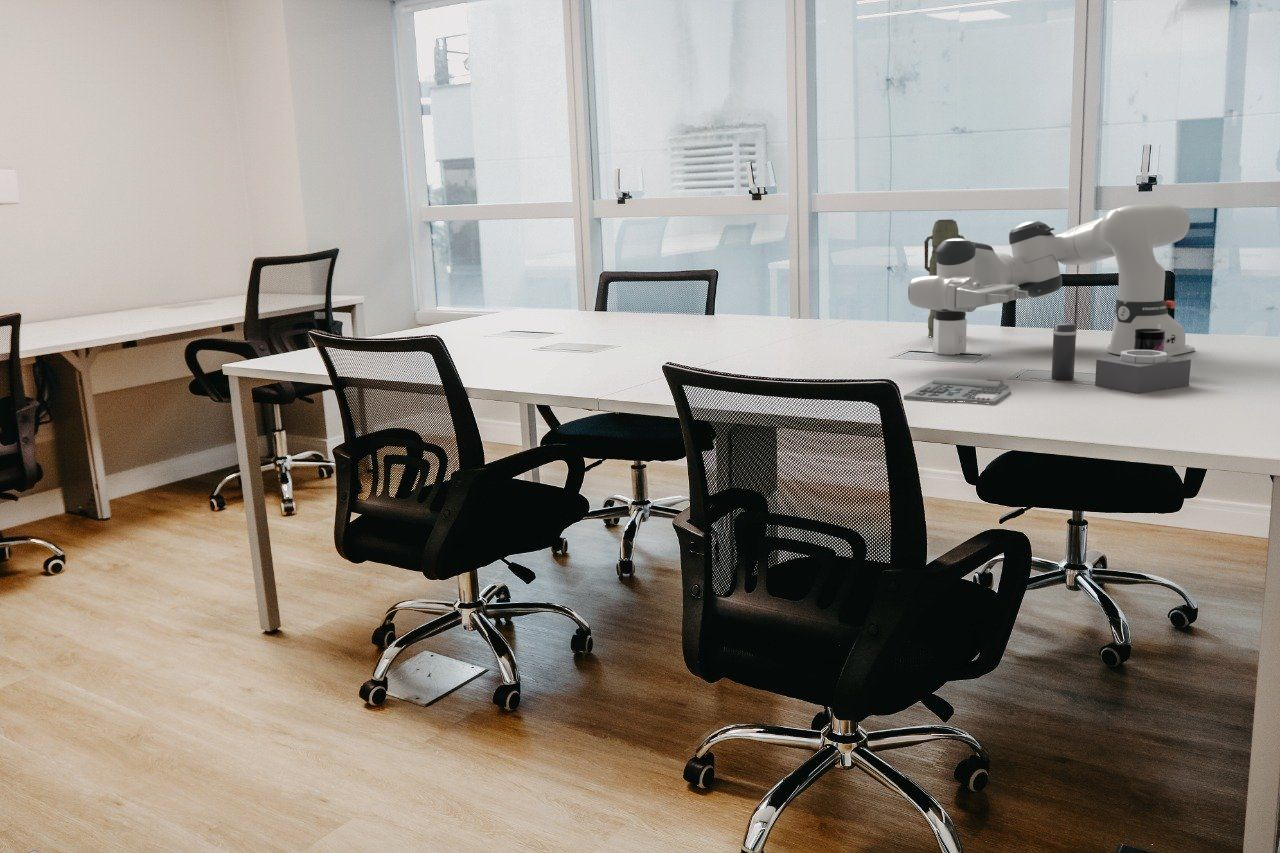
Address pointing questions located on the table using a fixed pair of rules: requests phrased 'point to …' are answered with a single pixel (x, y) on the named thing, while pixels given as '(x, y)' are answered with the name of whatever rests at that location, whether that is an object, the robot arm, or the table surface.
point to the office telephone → (959, 390)
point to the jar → (949, 332)
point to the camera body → (1142, 371)
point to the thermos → (939, 234)
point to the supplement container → (1149, 339)
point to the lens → (1063, 351)
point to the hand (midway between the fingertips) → (1017, 296)
